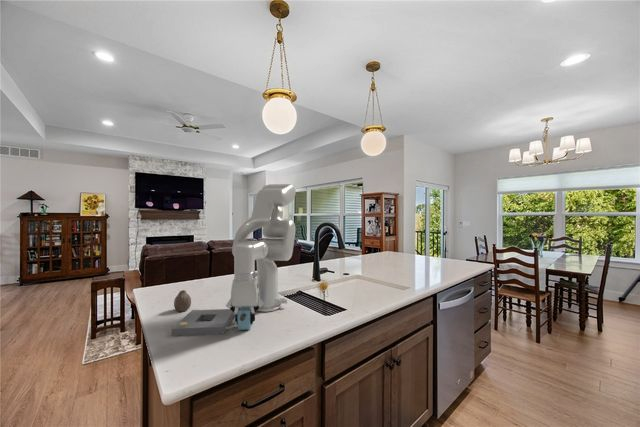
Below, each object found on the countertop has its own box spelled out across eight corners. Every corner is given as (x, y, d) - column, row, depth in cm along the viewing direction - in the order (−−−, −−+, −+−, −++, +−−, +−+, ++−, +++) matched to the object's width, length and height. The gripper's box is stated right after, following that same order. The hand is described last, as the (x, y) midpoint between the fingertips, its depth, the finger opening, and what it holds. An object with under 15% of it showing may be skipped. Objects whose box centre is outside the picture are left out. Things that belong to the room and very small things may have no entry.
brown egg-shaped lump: (170, 312, 116) (170, 292, 116) (183, 306, 123) (183, 288, 123) (182, 314, 114) (181, 294, 114) (194, 308, 121) (194, 289, 121)
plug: (252, 322, 104) (252, 305, 103) (248, 332, 96) (248, 313, 96) (241, 323, 103) (240, 305, 103) (236, 332, 95) (235, 313, 95)
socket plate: (234, 314, 113) (234, 307, 113) (222, 333, 95) (222, 324, 95) (192, 315, 112) (192, 308, 112) (171, 335, 94) (171, 326, 94)
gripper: (268, 273, 105) (268, 318, 105) (225, 274, 103) (225, 319, 104) (265, 278, 97) (266, 326, 98) (219, 279, 96) (219, 328, 96)
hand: (245, 322), depth 101 cm, fingers closed on plug, 4 cm apart
